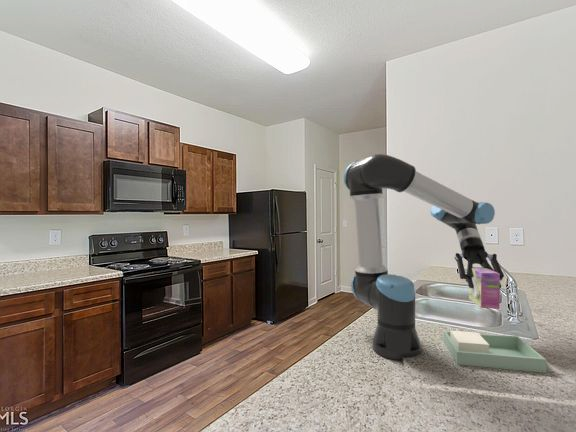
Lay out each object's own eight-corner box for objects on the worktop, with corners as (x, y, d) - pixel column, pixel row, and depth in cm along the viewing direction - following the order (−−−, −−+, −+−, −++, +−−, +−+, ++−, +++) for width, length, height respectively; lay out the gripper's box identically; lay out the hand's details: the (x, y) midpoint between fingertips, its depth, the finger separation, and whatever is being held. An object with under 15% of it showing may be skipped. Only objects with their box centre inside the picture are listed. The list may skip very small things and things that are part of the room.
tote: (457, 367, 86) (457, 351, 86) (443, 344, 101) (443, 331, 101) (546, 376, 81) (546, 359, 81) (517, 350, 96) (517, 336, 96)
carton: (458, 359, 89) (458, 342, 89) (450, 346, 98) (450, 330, 98) (489, 361, 87) (489, 344, 87) (478, 348, 96) (477, 332, 96)
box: (500, 309, 98) (500, 273, 98) (480, 308, 99) (480, 272, 99) (486, 300, 108) (486, 267, 108) (468, 299, 109) (468, 266, 109)
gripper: (495, 249, 116) (516, 303, 100) (442, 248, 121) (454, 300, 105) (501, 236, 111) (524, 291, 95) (445, 236, 116) (459, 289, 100)
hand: (488, 296), depth 100 cm, fingers closed on box, 6 cm apart
